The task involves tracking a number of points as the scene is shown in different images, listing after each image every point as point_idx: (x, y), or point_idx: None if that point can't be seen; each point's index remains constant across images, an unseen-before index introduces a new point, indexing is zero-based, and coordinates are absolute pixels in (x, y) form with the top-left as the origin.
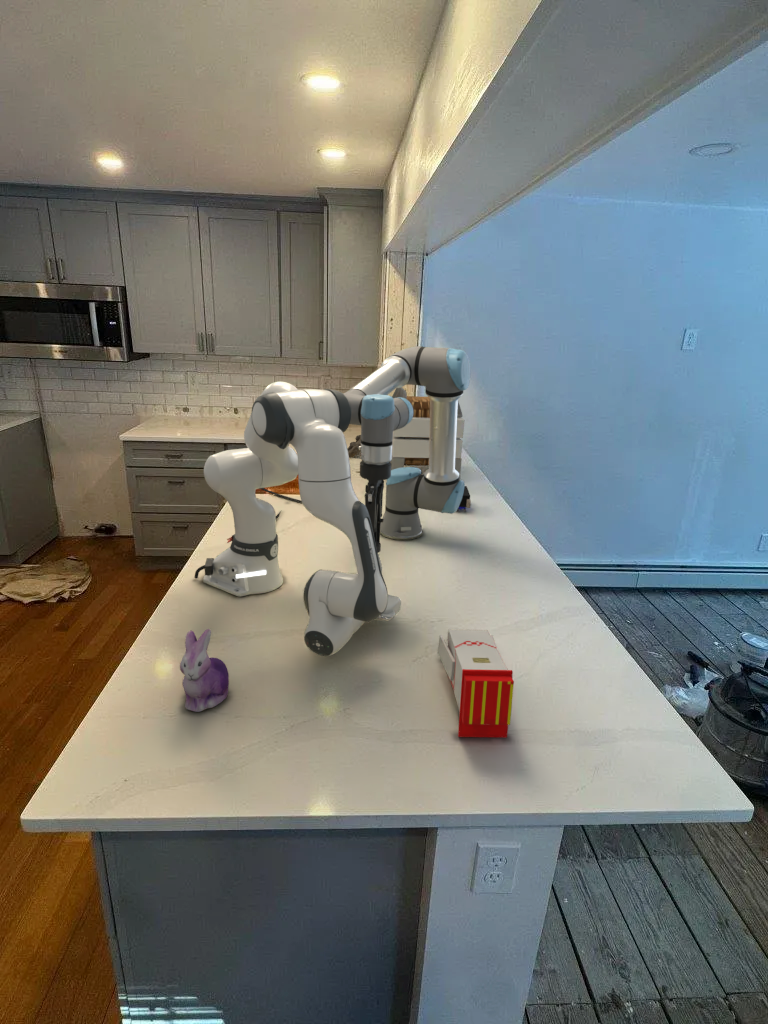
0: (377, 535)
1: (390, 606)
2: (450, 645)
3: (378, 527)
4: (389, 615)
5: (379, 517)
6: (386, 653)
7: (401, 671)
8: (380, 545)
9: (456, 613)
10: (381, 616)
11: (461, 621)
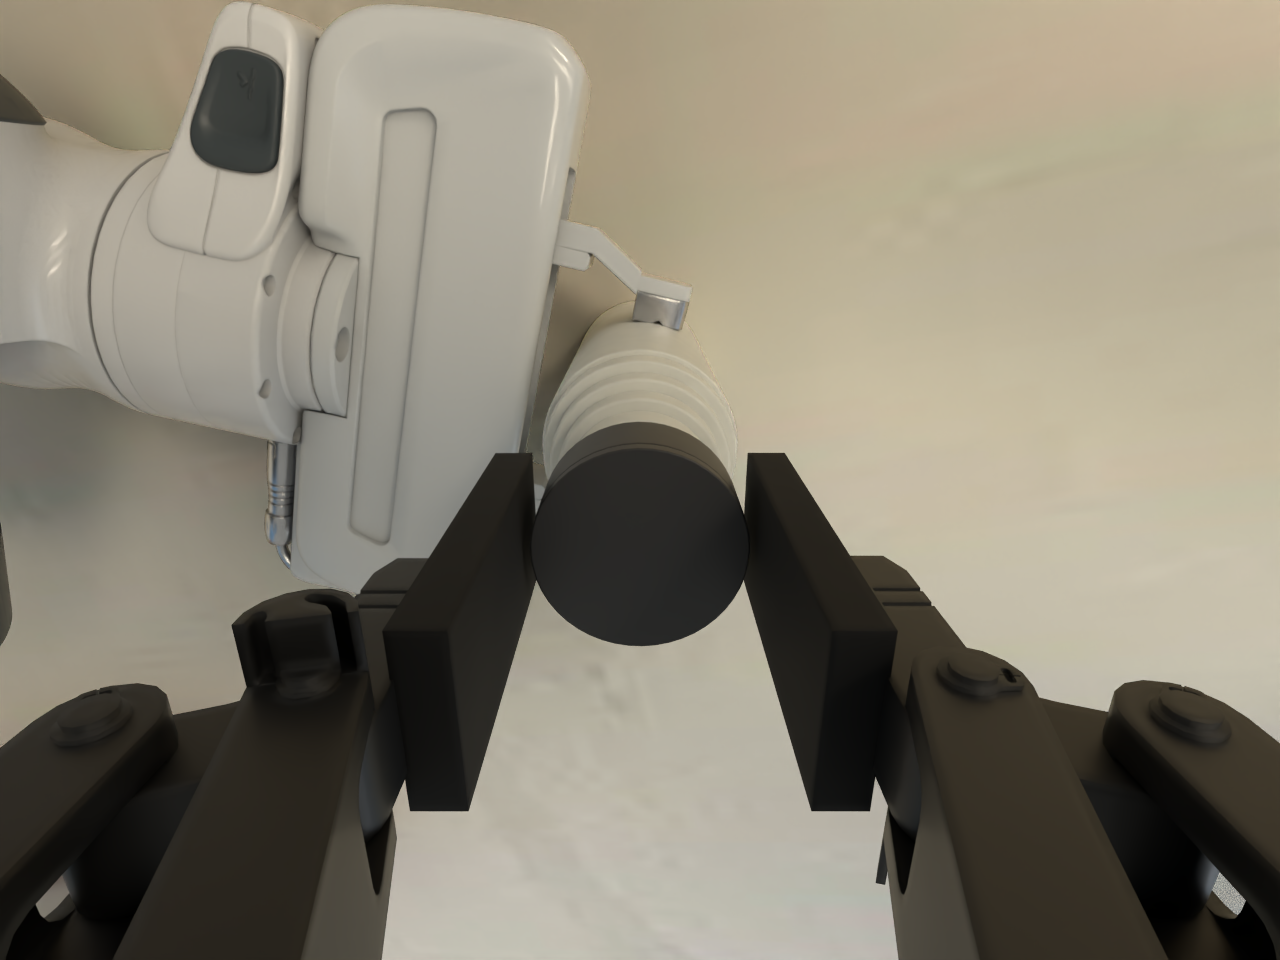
0: (770, 636)
1: (340, 582)
2: (60, 886)
3: (796, 736)
4: (304, 568)
5: (895, 911)
6: (251, 511)
7: (148, 588)
8: (633, 641)
9: (699, 761)
10: (267, 528)
11: (631, 780)
